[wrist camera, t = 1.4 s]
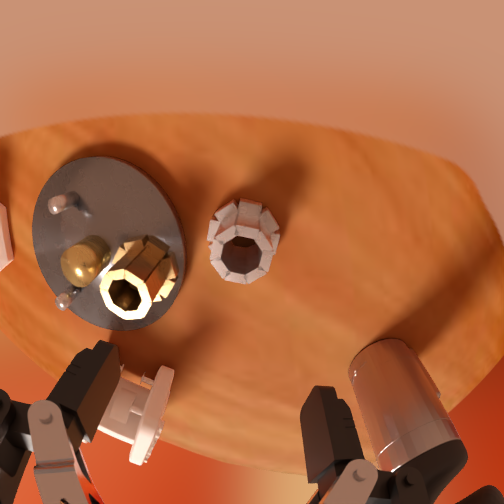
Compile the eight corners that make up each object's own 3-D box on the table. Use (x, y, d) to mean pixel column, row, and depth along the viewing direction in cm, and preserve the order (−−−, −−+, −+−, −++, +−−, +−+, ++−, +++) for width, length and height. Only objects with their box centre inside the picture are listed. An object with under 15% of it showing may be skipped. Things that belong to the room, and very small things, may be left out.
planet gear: (284, 207, 26) (293, 225, 20) (268, 268, 28) (271, 299, 22) (217, 193, 25) (207, 206, 20) (205, 255, 28) (194, 283, 22)
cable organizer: (108, 329, 32) (68, 392, 21) (181, 362, 33) (161, 435, 22) (100, 389, 36) (75, 441, 26) (158, 415, 38) (142, 471, 27)
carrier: (202, 170, 25) (189, 176, 19) (177, 340, 32) (167, 372, 26) (42, 150, 23) (10, 155, 18) (46, 299, 30) (25, 320, 25)
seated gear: (168, 230, 25) (146, 253, 19) (185, 290, 27) (170, 325, 22) (112, 241, 25) (82, 265, 20) (131, 296, 28) (109, 329, 22)
